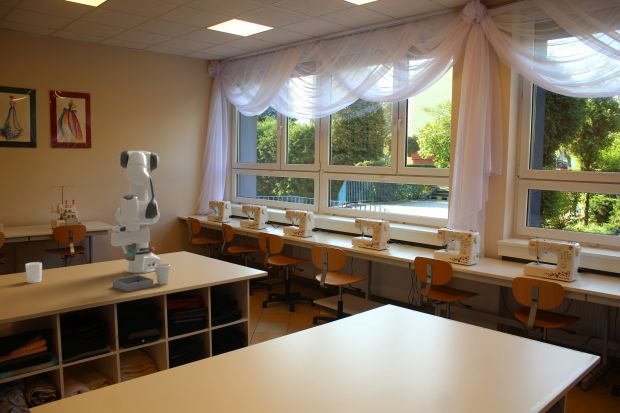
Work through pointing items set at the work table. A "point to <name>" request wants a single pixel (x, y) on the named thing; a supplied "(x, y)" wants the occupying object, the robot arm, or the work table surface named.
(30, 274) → the white cup
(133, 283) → the bin
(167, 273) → the dixie cup
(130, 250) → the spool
